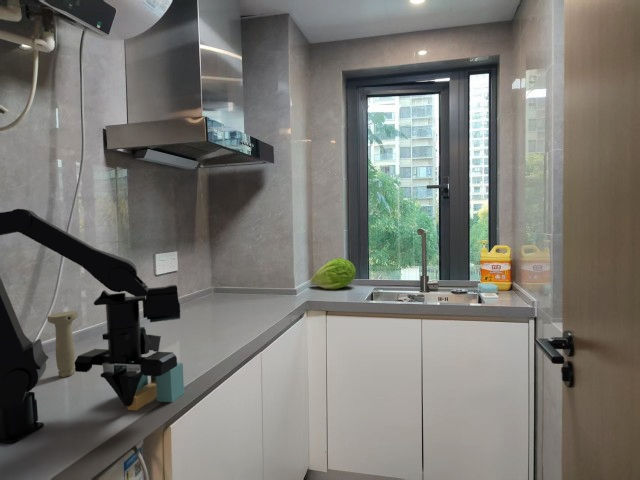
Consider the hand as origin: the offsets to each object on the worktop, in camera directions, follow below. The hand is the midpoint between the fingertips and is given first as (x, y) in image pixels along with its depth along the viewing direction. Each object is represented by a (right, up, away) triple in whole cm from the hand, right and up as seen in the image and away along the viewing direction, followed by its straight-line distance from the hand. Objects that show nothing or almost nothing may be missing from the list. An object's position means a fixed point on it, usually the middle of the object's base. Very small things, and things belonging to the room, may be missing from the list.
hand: (128, 405), depth 82 cm
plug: (+2, -1, +8) cm, 8 cm away
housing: (+2, -1, +7) cm, 8 cm away
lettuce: (+43, +7, +136) cm, 143 cm away
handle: (-25, -1, +22) cm, 33 cm away
